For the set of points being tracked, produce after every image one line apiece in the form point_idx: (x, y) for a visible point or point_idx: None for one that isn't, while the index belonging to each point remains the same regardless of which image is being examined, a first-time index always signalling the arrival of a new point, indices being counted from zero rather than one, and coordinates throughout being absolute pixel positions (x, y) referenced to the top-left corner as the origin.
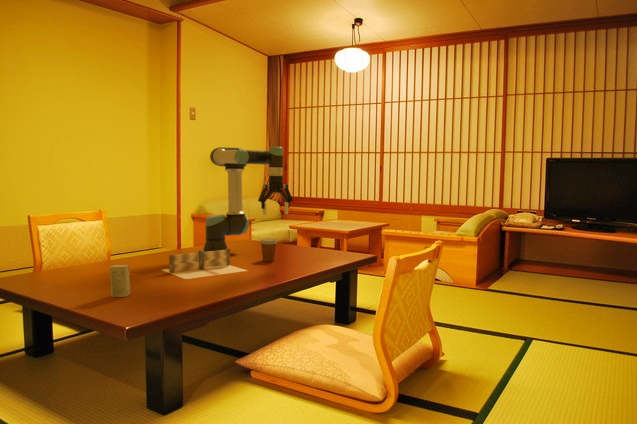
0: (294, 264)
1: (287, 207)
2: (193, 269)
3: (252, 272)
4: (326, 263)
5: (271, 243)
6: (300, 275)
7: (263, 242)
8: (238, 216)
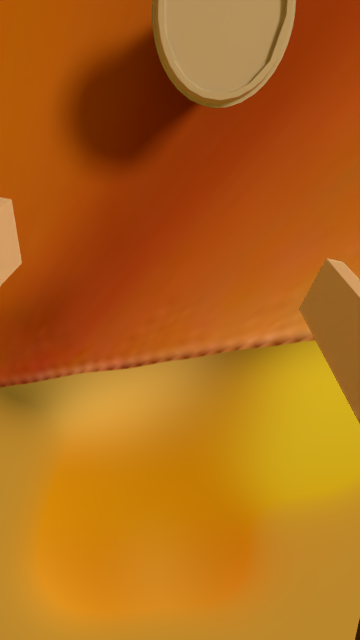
0: (224, 231)
1: (335, 366)
2: None
3: None
4: None
5: (198, 100)
6: (119, 355)
7: (157, 38)
8: None
